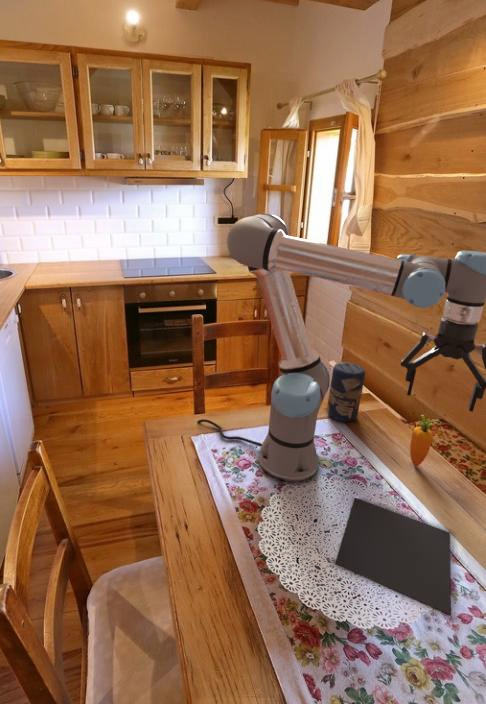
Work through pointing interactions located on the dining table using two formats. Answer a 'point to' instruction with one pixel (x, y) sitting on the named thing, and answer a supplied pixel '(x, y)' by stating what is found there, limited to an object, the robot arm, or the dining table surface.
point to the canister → (345, 391)
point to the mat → (398, 553)
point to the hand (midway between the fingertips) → (438, 400)
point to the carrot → (421, 441)
